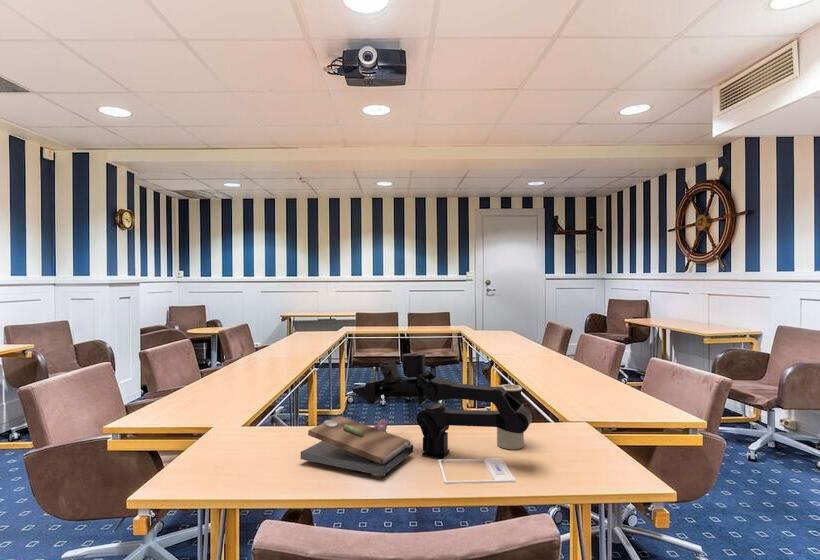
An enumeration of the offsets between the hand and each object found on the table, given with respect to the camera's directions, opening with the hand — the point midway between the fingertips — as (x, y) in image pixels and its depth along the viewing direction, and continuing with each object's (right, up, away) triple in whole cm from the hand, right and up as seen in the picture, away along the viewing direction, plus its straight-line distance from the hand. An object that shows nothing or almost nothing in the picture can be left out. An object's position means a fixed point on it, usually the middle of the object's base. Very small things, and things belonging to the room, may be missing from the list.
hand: (360, 387), depth 145 cm
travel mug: (+46, -17, -4) cm, 50 cm away
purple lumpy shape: (+6, -17, +3) cm, 19 cm away
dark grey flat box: (+1, -17, -15) cm, 23 cm away
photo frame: (+33, -17, -23) cm, 44 cm away
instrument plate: (+1, -11, -16) cm, 19 cm away
